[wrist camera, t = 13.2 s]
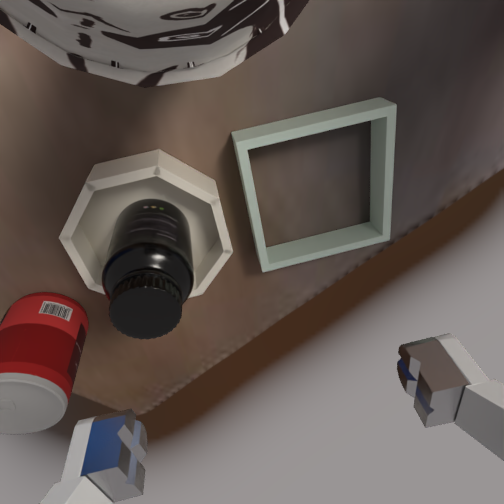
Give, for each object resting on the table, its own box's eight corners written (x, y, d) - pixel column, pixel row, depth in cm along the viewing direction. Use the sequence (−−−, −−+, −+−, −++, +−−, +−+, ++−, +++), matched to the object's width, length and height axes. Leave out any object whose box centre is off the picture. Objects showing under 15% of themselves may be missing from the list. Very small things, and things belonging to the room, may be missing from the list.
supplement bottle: (188, 259, 37) (192, 350, 27) (117, 257, 35) (94, 352, 26) (193, 197, 33) (200, 276, 24) (114, 192, 32) (86, 273, 22)
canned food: (-7, 299, 37) (-66, 393, 28) (73, 282, 37) (41, 369, 28) (29, 349, 41) (-12, 444, 32) (100, 333, 42) (80, 423, 33)
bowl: (204, 138, 32) (207, 153, 28) (235, 261, 39) (241, 284, 36) (48, 174, 31) (33, 194, 28) (111, 293, 39) (105, 319, 36)
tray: (379, 96, 32) (396, 104, 30) (376, 225, 40) (389, 240, 38) (231, 132, 32) (235, 142, 29) (257, 256, 40) (262, 272, 37)
